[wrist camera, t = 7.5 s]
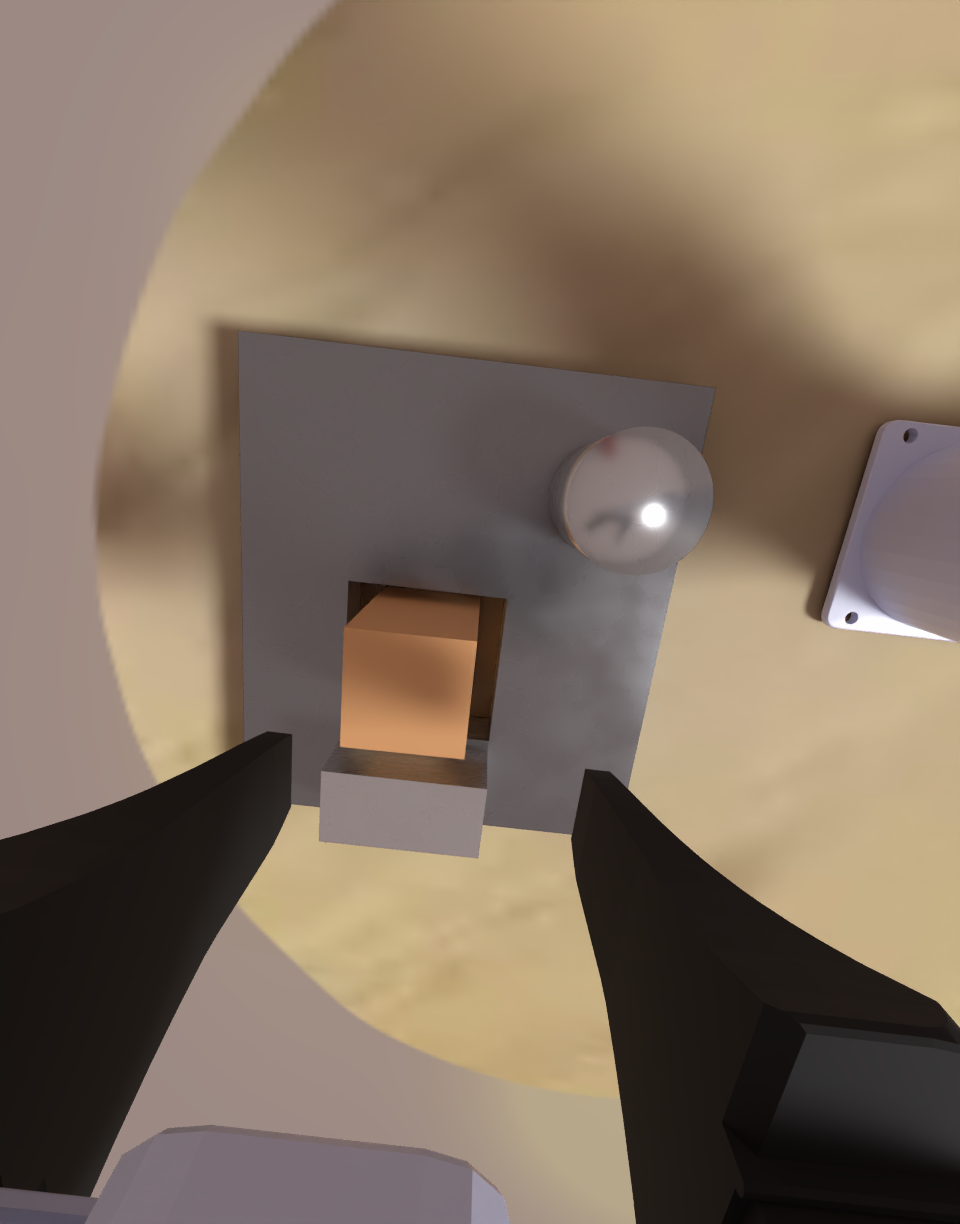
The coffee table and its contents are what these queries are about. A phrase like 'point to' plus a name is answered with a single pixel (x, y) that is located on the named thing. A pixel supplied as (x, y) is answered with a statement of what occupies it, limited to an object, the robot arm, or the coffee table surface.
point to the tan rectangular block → (410, 673)
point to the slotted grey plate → (461, 567)
